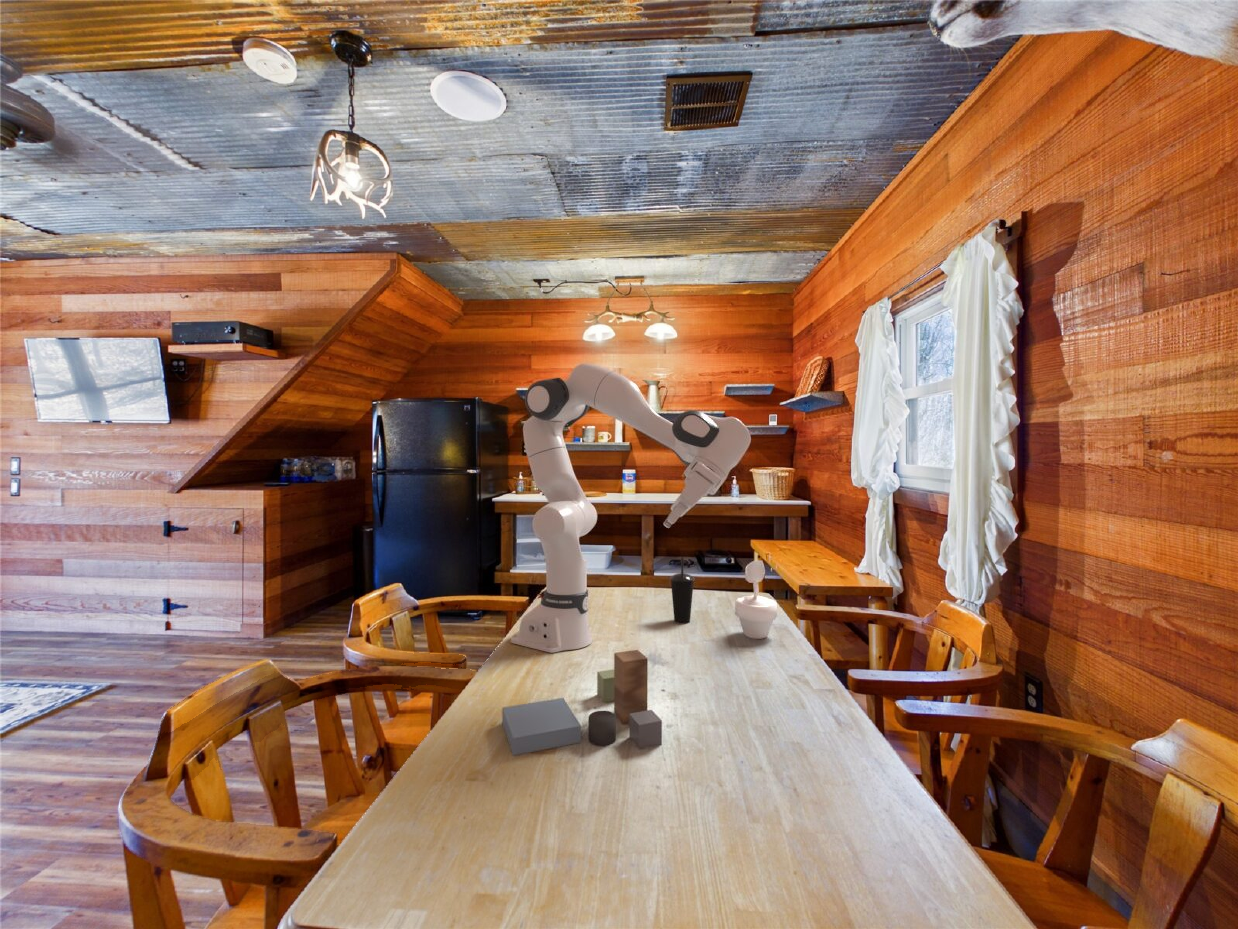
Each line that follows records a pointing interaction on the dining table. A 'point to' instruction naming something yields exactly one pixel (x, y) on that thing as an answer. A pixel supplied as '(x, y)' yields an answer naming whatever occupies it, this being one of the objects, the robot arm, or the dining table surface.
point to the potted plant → (756, 605)
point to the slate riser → (540, 726)
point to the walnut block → (630, 684)
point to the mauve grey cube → (645, 729)
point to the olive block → (605, 685)
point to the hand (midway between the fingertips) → (667, 524)
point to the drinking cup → (682, 595)
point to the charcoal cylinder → (602, 728)
